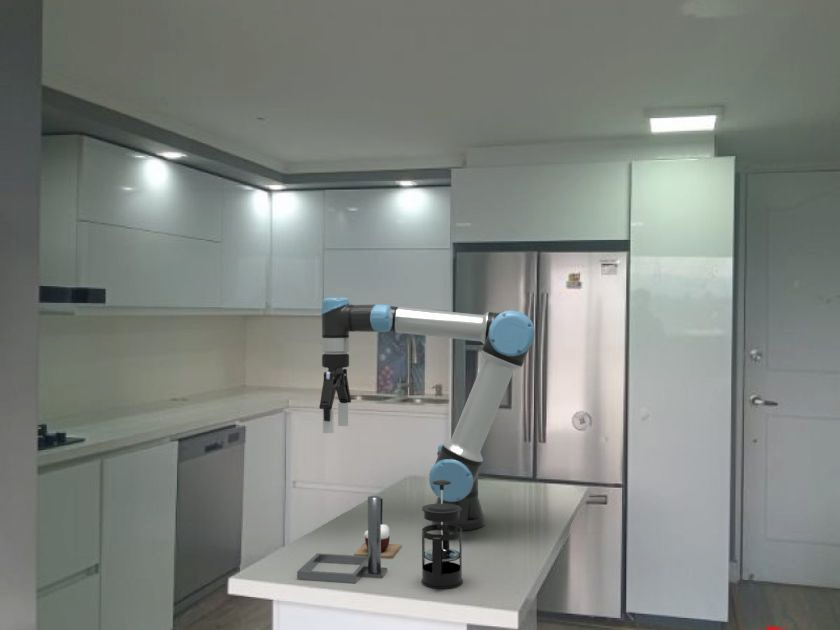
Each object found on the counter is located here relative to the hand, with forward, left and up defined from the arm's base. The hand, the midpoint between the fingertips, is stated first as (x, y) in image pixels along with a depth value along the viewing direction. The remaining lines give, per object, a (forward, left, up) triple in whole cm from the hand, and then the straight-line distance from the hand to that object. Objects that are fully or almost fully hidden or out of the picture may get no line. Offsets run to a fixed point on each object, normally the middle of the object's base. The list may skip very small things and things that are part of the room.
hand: (335, 429), depth 221 cm
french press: (-36, +35, -29) cm, 58 cm away
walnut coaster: (-16, +15, -29) cm, 36 cm away
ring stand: (-12, +32, -29) cm, 45 cm away
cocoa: (-16, +16, -28) cm, 36 cm away
